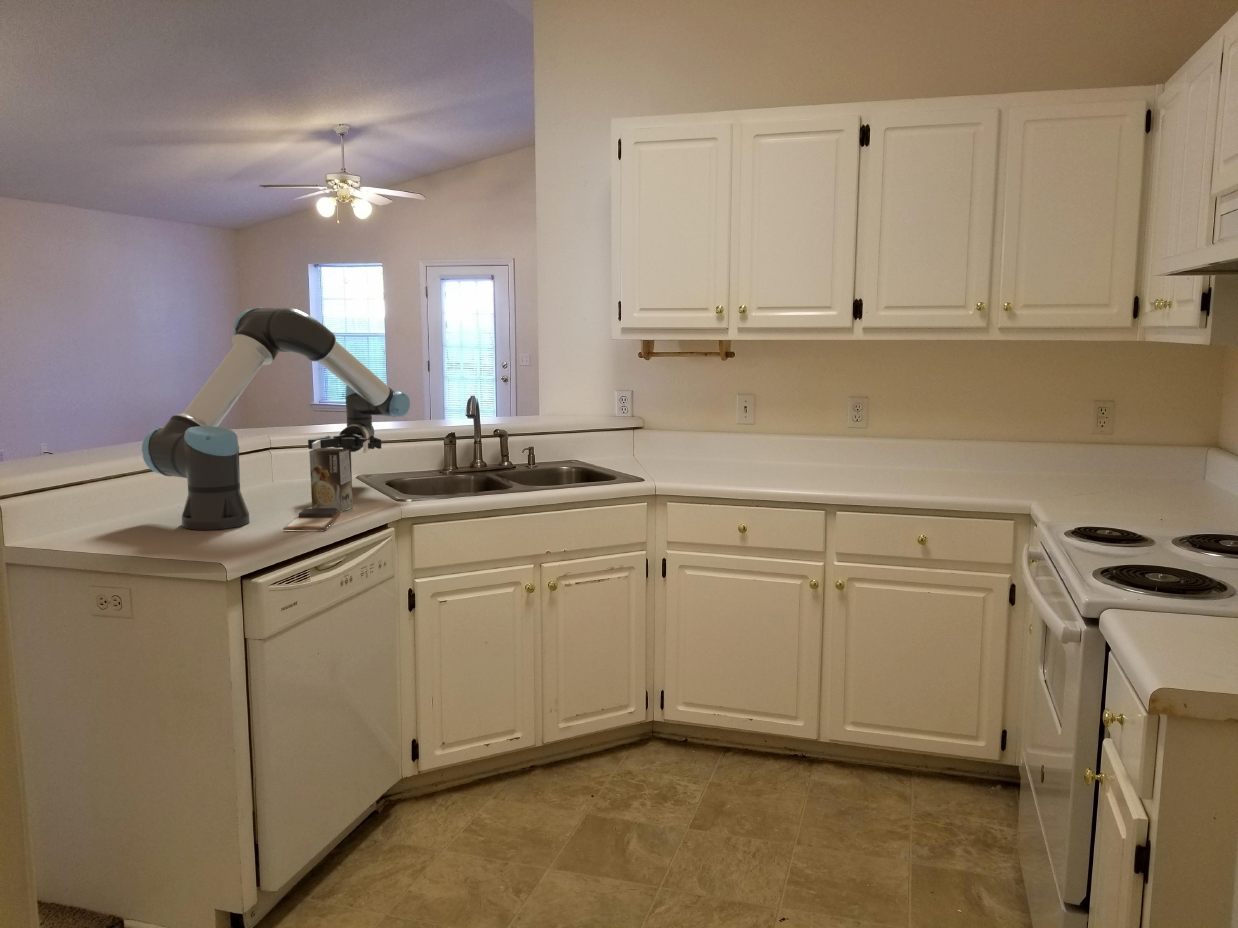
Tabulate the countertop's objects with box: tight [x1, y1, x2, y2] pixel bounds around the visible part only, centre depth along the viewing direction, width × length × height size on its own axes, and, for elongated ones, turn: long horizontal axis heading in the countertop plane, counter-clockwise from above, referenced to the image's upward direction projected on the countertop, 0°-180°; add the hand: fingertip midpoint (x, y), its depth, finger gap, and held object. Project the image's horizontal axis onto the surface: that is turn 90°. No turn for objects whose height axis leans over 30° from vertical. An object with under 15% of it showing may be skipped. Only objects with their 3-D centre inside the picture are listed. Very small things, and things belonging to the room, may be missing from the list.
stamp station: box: [282, 507, 342, 531], centre depth 222 cm, size 10×18×2 cm, turn 6°
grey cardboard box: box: [309, 447, 354, 512], centre depth 239 cm, size 9×6×16 cm
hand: (339, 448), depth 248 cm, fingers open, 13 cm apart
